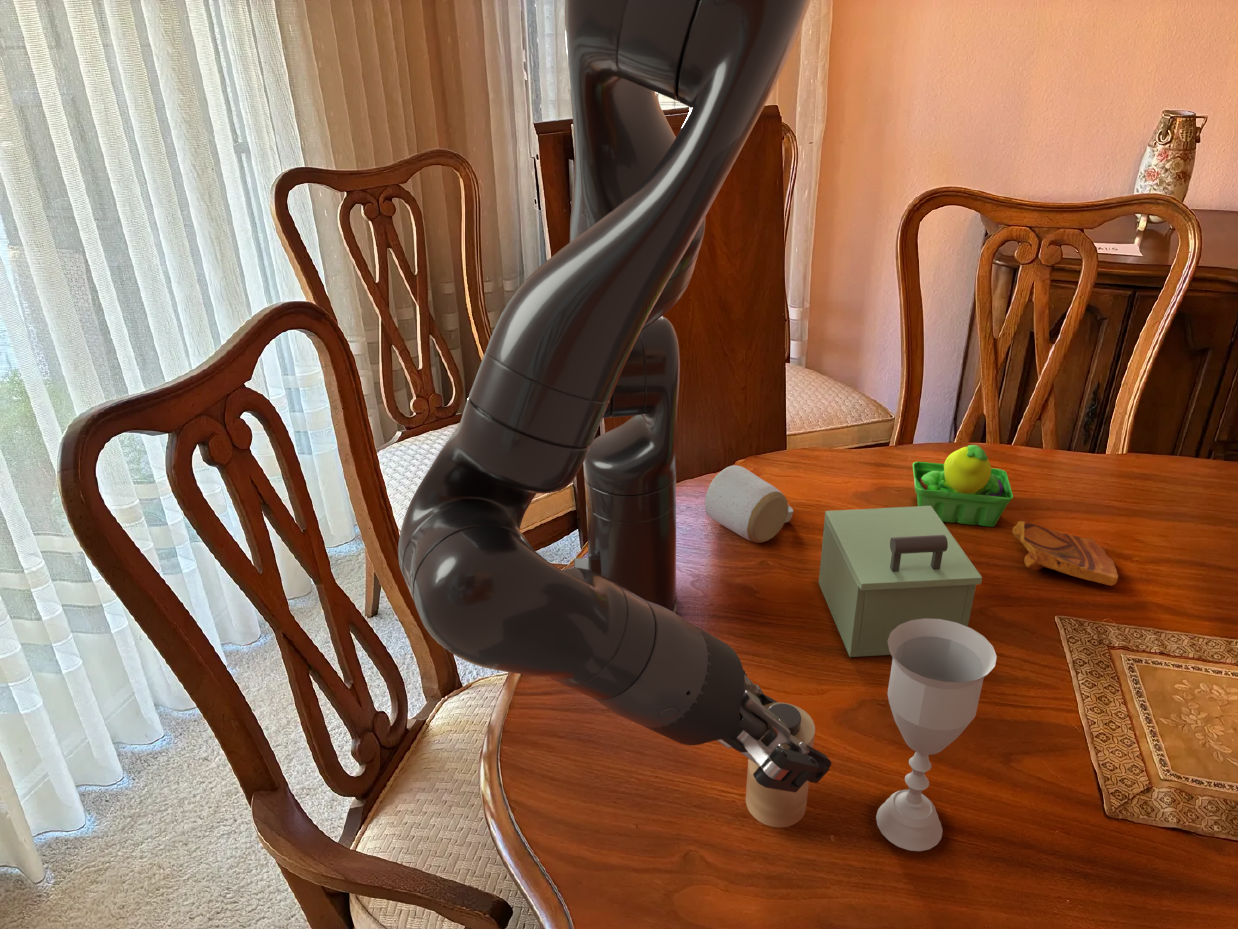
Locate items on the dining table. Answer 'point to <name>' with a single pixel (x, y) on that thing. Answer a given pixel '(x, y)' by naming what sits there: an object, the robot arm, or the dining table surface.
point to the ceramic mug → (747, 504)
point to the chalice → (929, 714)
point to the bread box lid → (900, 548)
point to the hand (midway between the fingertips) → (800, 744)
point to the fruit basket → (963, 488)
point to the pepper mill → (774, 803)
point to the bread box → (881, 603)
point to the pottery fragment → (1065, 553)
